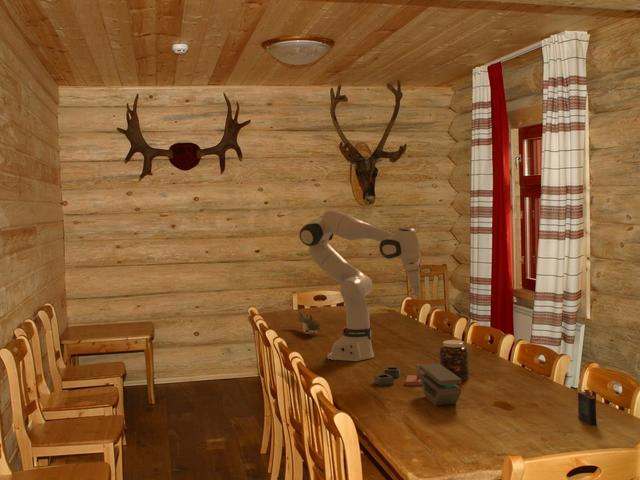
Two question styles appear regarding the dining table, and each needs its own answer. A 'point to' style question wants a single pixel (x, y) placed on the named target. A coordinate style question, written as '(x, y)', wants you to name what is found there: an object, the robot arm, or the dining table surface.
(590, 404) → the flask
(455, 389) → the grey lidded box
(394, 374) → the link
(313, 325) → the wood carving
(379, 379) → the loose link
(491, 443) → the dining table surface
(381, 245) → the robot arm
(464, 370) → the jar
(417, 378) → the keeper
